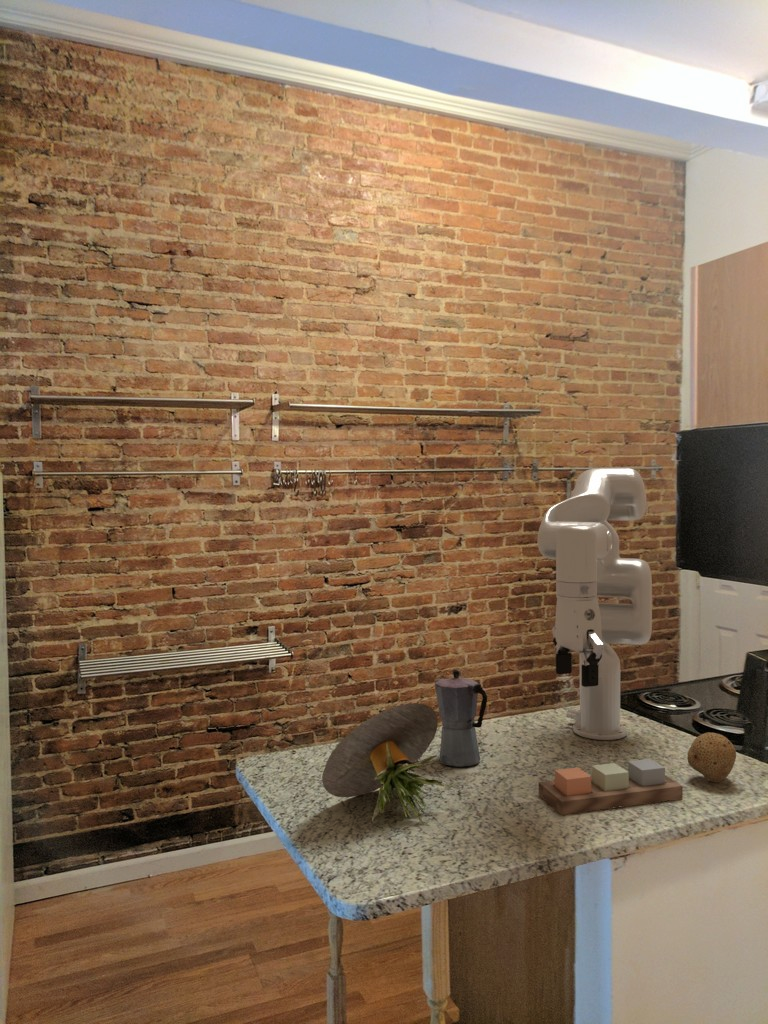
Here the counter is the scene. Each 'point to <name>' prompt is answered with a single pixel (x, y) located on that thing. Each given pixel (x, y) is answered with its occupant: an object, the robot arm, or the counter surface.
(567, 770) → the terracotta button
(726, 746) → the natural sponge
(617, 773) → the sage button
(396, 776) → the potted plant
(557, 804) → the walnut panel
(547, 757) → the counter surface
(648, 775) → the slate button
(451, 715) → the moka pot
